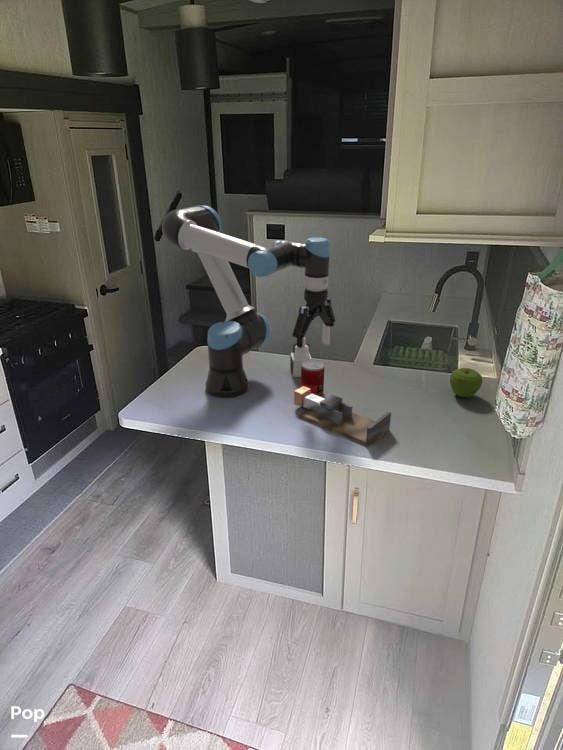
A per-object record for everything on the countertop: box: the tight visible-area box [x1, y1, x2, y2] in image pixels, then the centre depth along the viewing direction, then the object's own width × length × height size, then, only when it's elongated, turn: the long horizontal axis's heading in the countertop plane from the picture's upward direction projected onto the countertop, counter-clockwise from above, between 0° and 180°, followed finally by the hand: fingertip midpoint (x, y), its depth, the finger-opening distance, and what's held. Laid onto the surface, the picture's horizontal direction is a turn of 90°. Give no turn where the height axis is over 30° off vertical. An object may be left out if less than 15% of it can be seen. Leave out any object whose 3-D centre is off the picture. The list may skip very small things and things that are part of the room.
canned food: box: [300, 359, 325, 397], centre depth 179 cm, size 8×8×11 cm
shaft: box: [293, 386, 340, 412], centre depth 167 cm, size 15×5×5 cm, turn 50°
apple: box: [449, 367, 483, 398], centre depth 178 cm, size 11×10×10 cm
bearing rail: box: [298, 394, 392, 447], centre depth 161 cm, size 26×12×7 cm, turn 50°
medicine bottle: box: [289, 342, 313, 378], centre depth 193 cm, size 7×7×12 cm
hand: (313, 349), depth 174 cm, fingers open, 13 cm apart
